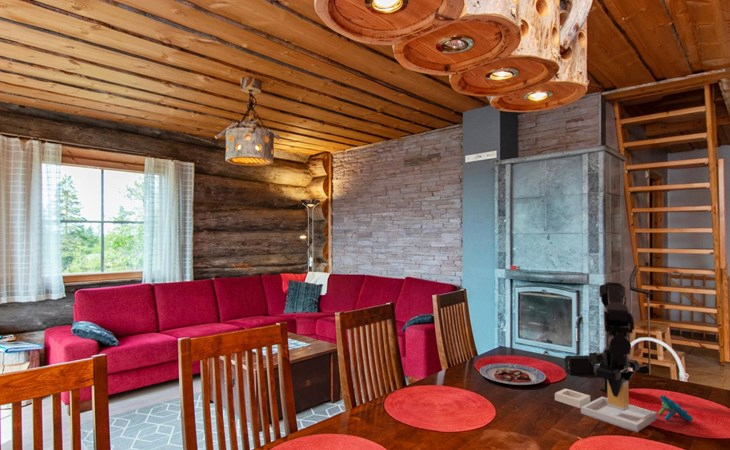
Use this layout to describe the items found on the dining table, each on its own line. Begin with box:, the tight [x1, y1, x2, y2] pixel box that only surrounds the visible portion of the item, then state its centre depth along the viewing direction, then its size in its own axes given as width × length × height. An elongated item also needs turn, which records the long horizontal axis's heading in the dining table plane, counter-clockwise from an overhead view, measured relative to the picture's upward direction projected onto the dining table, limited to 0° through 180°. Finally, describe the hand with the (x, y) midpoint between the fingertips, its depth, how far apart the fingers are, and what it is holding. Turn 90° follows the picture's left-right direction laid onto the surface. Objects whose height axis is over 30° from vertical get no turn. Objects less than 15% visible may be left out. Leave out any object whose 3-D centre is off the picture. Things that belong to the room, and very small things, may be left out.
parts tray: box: [580, 396, 658, 433], centre depth 144 cm, size 15×17×2 cm
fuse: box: [606, 380, 630, 411], centre depth 144 cm, size 4×5×9 cm
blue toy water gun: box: [658, 395, 694, 423], centre depth 142 cm, size 11×6×10 cm
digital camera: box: [563, 354, 595, 376], centre depth 188 cm, size 10×5×7 cm, turn 95°
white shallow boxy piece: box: [554, 388, 591, 409], centre depth 157 cm, size 8×9×2 cm
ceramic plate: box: [479, 362, 547, 386], centre depth 182 cm, size 26×26×3 cm
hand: (618, 394), depth 144 cm, fingers closed on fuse, 3 cm apart
